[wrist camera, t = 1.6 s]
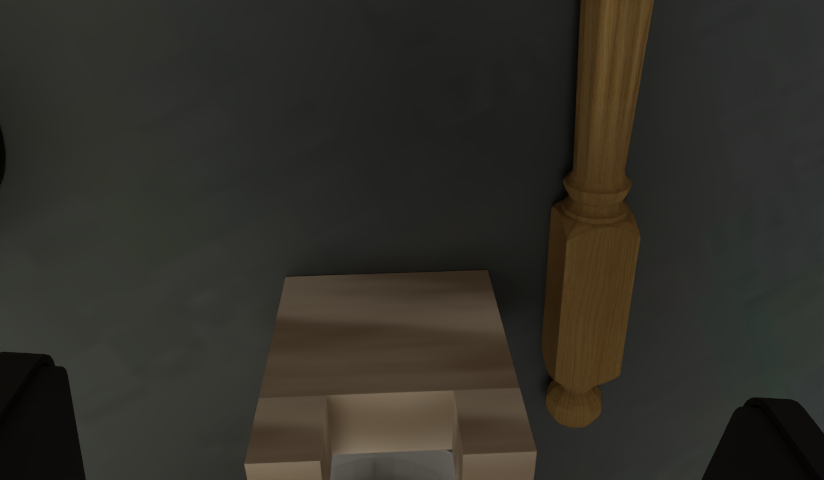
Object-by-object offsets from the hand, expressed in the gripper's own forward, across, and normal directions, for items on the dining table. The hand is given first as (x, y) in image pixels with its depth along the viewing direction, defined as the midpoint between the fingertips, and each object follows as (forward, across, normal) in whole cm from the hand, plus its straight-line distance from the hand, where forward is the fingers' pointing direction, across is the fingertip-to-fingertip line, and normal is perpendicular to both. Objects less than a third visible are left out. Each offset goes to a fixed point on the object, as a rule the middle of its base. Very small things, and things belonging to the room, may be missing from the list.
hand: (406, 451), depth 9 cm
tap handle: (+20, -9, +2) cm, 22 cm away
